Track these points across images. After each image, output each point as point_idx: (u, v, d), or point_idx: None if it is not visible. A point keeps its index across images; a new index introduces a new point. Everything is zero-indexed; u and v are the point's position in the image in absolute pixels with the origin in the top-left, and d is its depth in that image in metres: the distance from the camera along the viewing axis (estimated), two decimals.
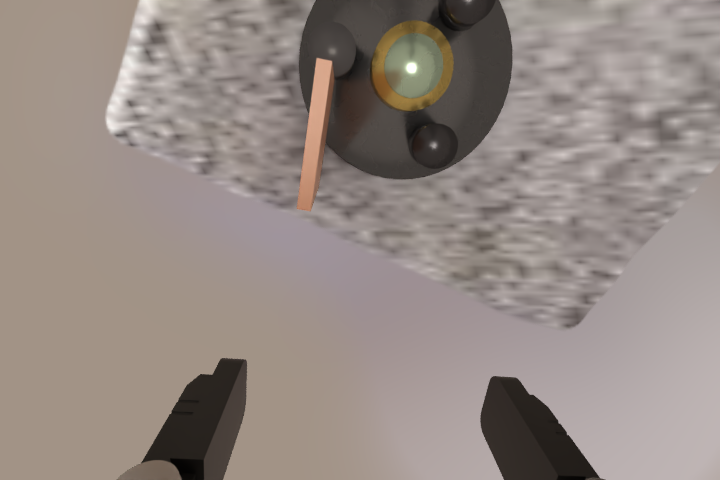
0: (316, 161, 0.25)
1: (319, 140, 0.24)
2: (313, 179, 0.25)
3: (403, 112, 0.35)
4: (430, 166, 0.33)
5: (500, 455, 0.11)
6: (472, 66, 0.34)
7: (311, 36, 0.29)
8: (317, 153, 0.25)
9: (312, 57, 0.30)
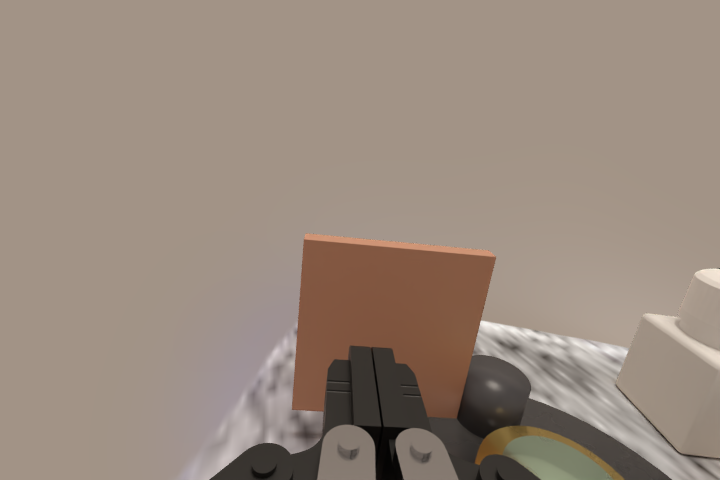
0: (374, 244, 0.18)
1: (401, 247, 0.18)
2: (349, 242, 0.18)
3: None
4: None
5: None
6: None
7: (493, 358, 0.24)
8: (384, 246, 0.18)
9: (472, 359, 0.23)
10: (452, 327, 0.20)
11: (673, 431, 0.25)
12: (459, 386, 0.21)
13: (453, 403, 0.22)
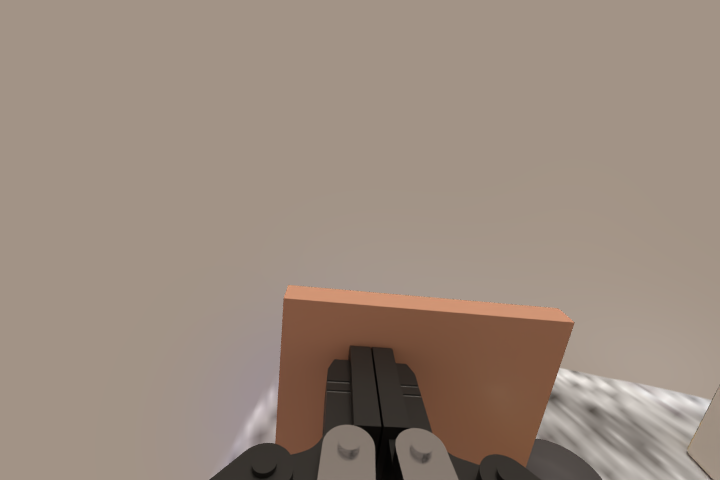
0: (391, 305, 0.12)
1: (433, 309, 0.12)
2: (353, 302, 0.12)
3: None
4: None
5: None
6: None
7: (549, 443, 0.17)
8: (407, 307, 0.12)
9: None
10: (503, 419, 0.14)
11: None
12: None
13: None
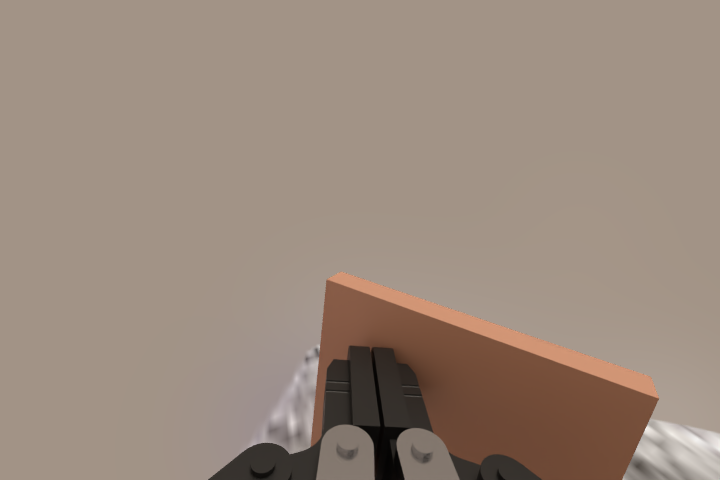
0: (417, 310, 0.12)
1: (460, 325, 0.11)
2: (383, 298, 0.12)
3: None
4: None
5: None
6: None
7: None
8: (433, 316, 0.12)
9: None
10: None
11: None
12: None
13: None
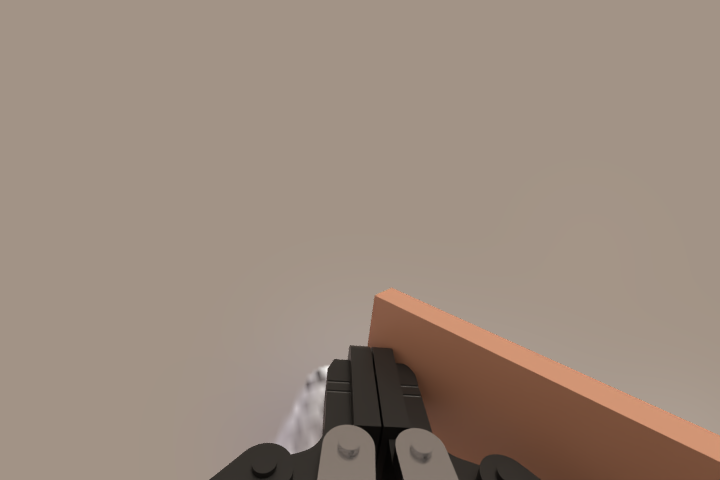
0: (472, 340, 0.10)
1: (523, 364, 0.10)
2: (434, 322, 0.11)
3: None
4: None
5: None
6: None
7: None
8: (491, 349, 0.10)
9: None
10: None
11: None
12: None
13: None
